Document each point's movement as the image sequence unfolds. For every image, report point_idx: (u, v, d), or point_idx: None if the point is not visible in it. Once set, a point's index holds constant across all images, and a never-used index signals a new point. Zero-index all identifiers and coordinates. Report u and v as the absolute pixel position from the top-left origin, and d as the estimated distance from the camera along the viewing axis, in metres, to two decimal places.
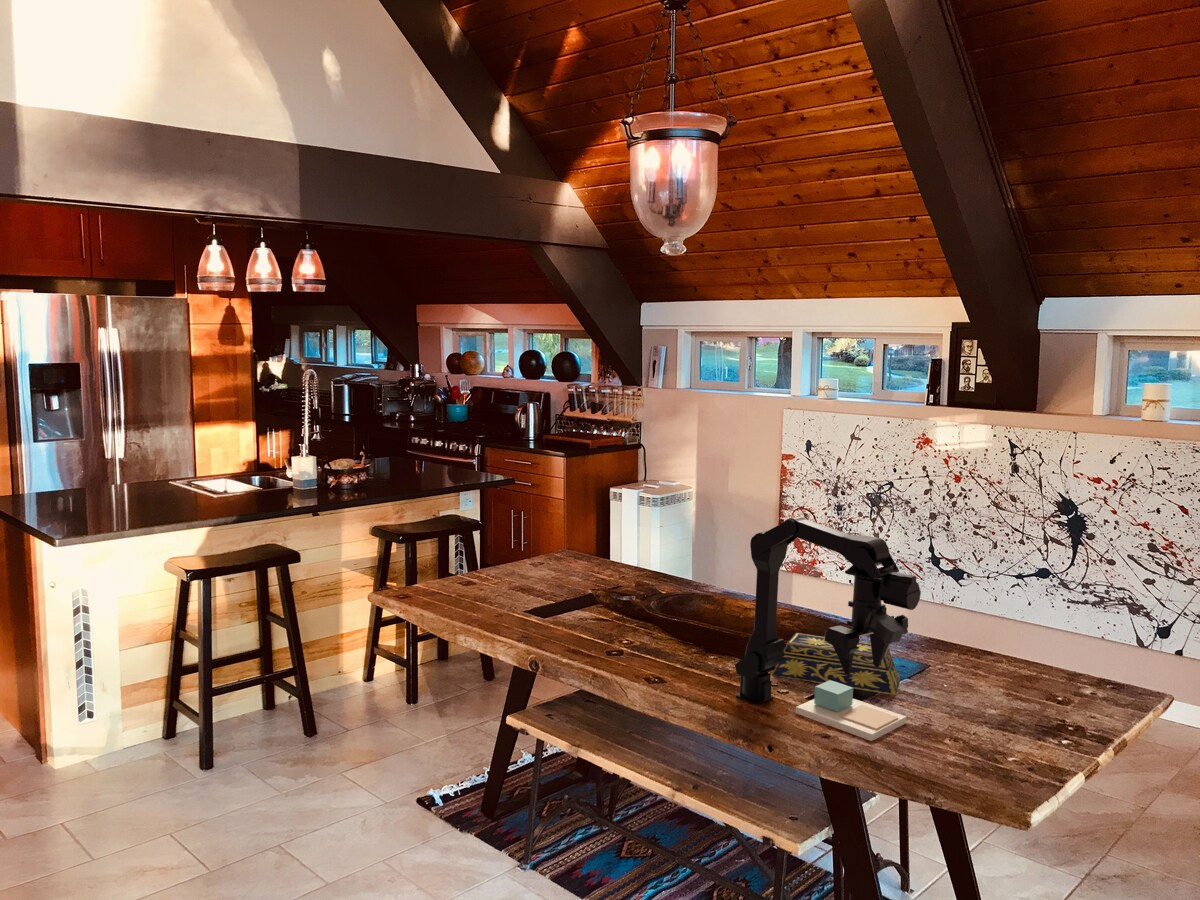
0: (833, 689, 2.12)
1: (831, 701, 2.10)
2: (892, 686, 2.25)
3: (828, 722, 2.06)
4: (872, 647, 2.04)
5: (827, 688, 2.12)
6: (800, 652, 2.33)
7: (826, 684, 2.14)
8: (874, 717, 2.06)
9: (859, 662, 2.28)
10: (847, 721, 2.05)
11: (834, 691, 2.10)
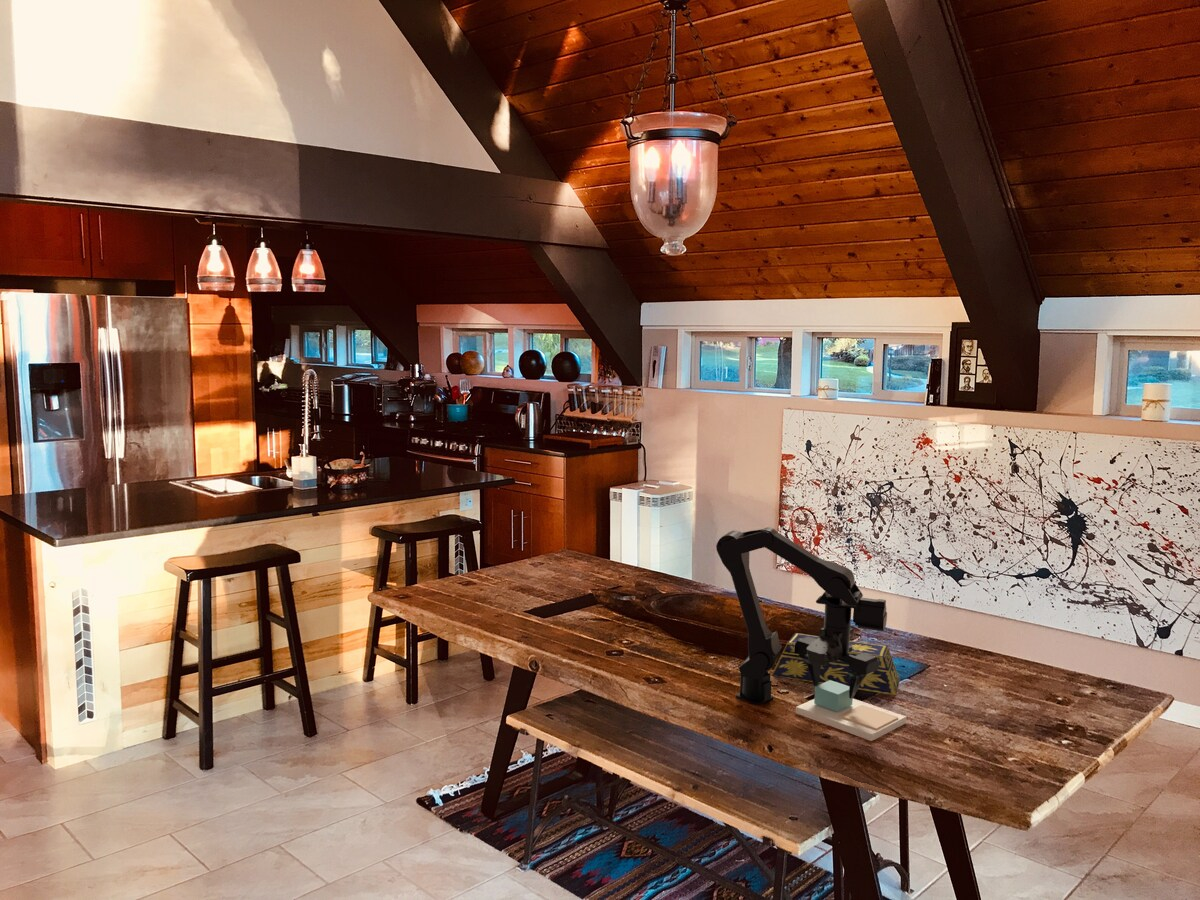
0: (833, 689, 2.12)
1: (831, 701, 2.10)
2: (892, 686, 2.25)
3: (828, 722, 2.06)
4: None
5: (827, 688, 2.12)
6: None
7: (826, 684, 2.14)
8: (874, 717, 2.06)
9: None
10: (847, 721, 2.05)
11: (834, 691, 2.10)
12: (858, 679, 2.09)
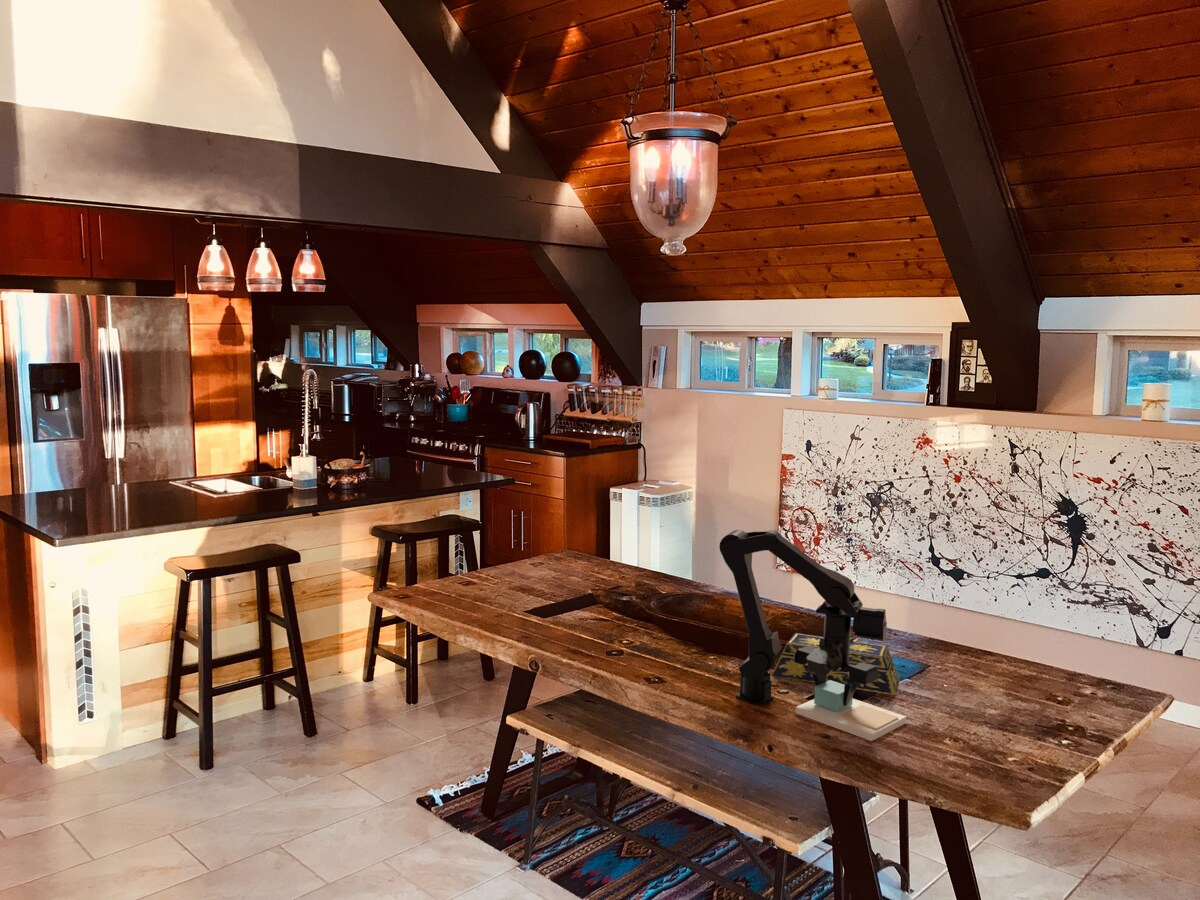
0: (833, 689, 2.12)
1: (831, 701, 2.10)
2: (892, 686, 2.25)
3: (828, 722, 2.06)
4: None
5: (827, 688, 2.12)
6: None
7: (826, 684, 2.14)
8: (874, 717, 2.06)
9: (859, 663, 2.28)
10: (847, 721, 2.05)
11: (834, 691, 2.10)
12: (852, 687, 2.10)
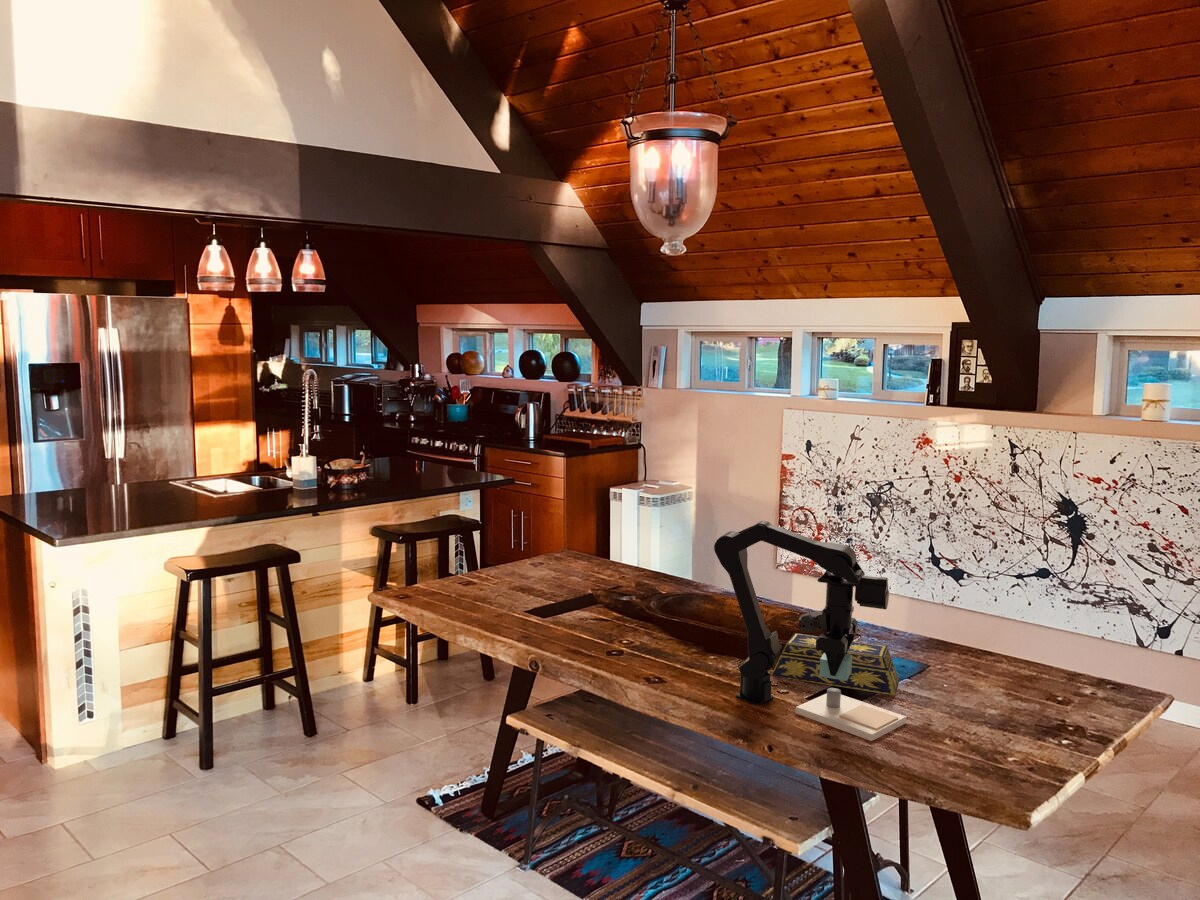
0: None
1: None
2: (892, 686, 2.25)
3: (828, 722, 2.06)
4: None
5: None
6: (800, 653, 2.33)
7: None
8: (874, 717, 2.06)
9: (858, 663, 2.28)
10: (847, 721, 2.05)
11: (825, 657, 2.12)
12: (835, 657, 2.08)
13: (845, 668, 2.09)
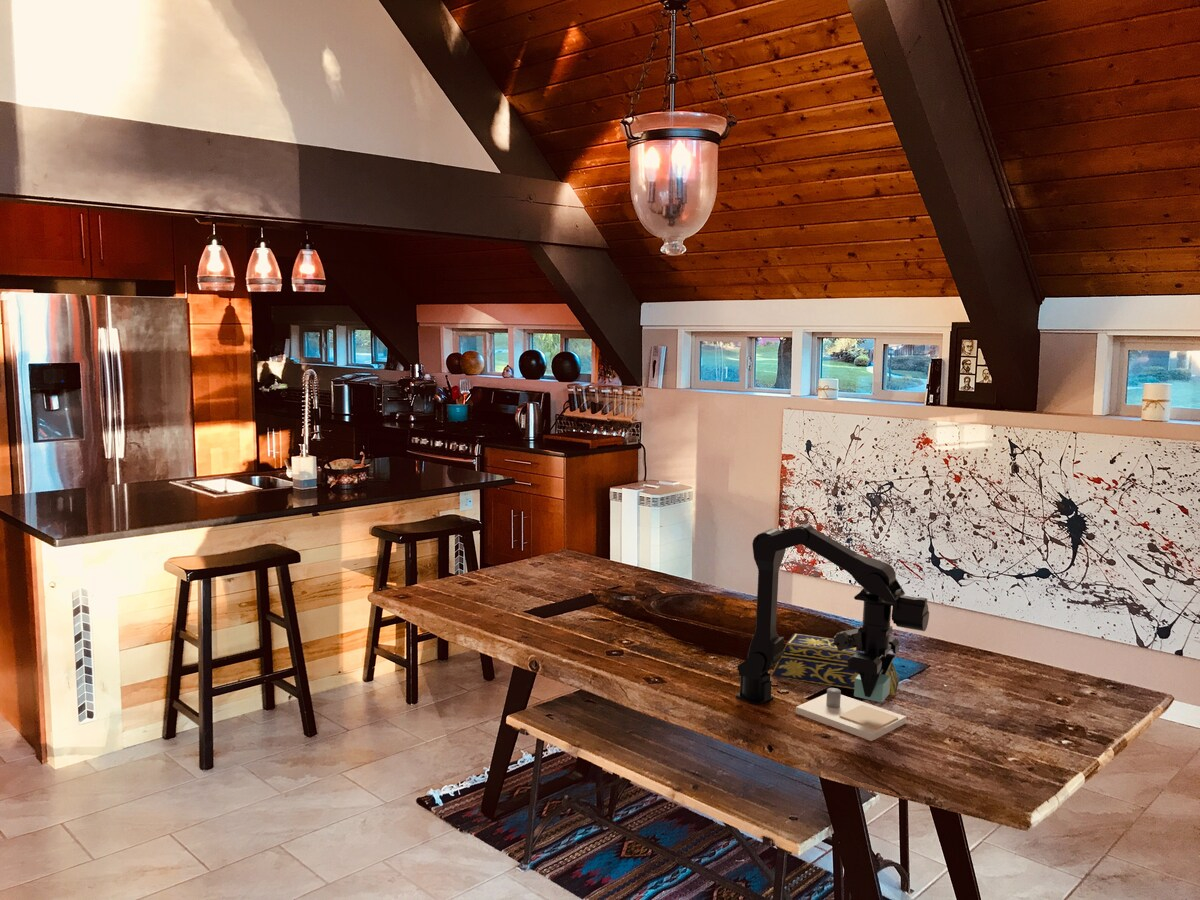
0: None
1: None
2: (891, 686, 2.25)
3: (828, 722, 2.06)
4: None
5: None
6: (800, 653, 2.33)
7: None
8: (874, 717, 2.06)
9: None
10: (847, 721, 2.05)
11: (860, 677, 2.05)
12: (869, 678, 2.02)
13: (880, 689, 2.02)
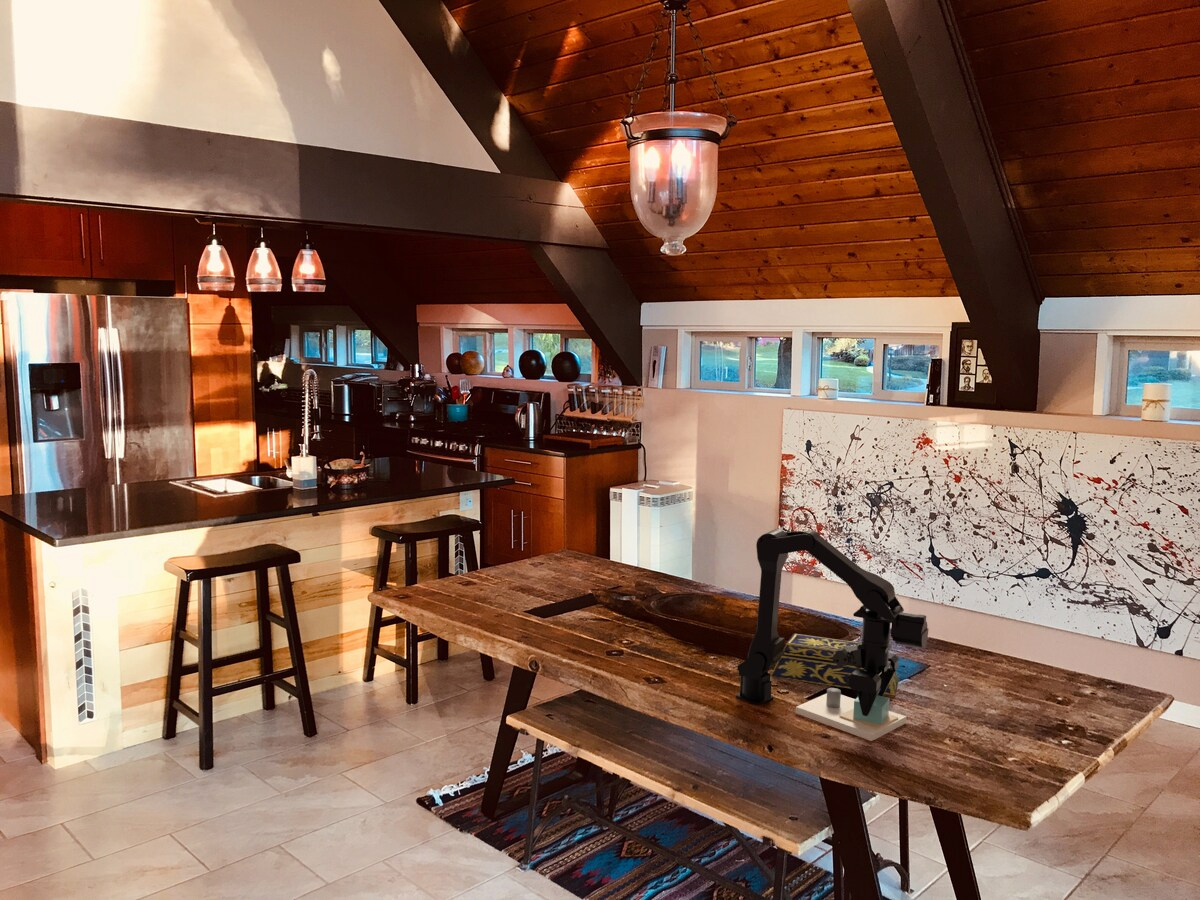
0: None
1: None
2: (891, 686, 2.25)
3: (828, 722, 2.06)
4: None
5: None
6: (799, 653, 2.33)
7: None
8: None
9: None
10: (847, 721, 2.05)
11: None
12: (867, 697, 2.01)
13: (879, 712, 2.02)
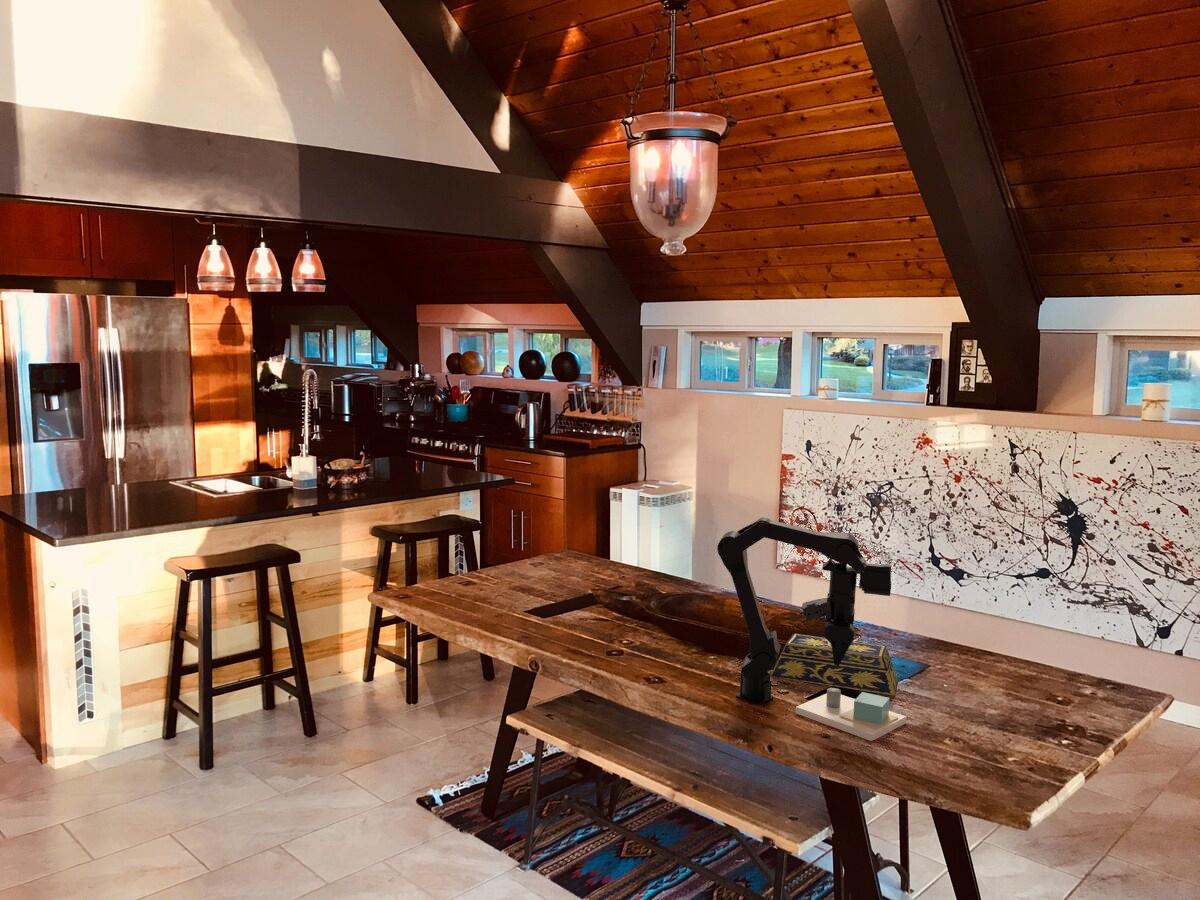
0: (864, 699, 2.06)
1: None
2: (891, 686, 2.25)
3: (828, 722, 2.06)
4: None
5: (863, 696, 2.08)
6: (799, 653, 2.32)
7: (873, 696, 2.08)
8: None
9: (858, 663, 2.27)
10: (847, 721, 2.05)
11: (859, 699, 2.06)
12: (840, 647, 2.09)
13: (879, 712, 2.02)
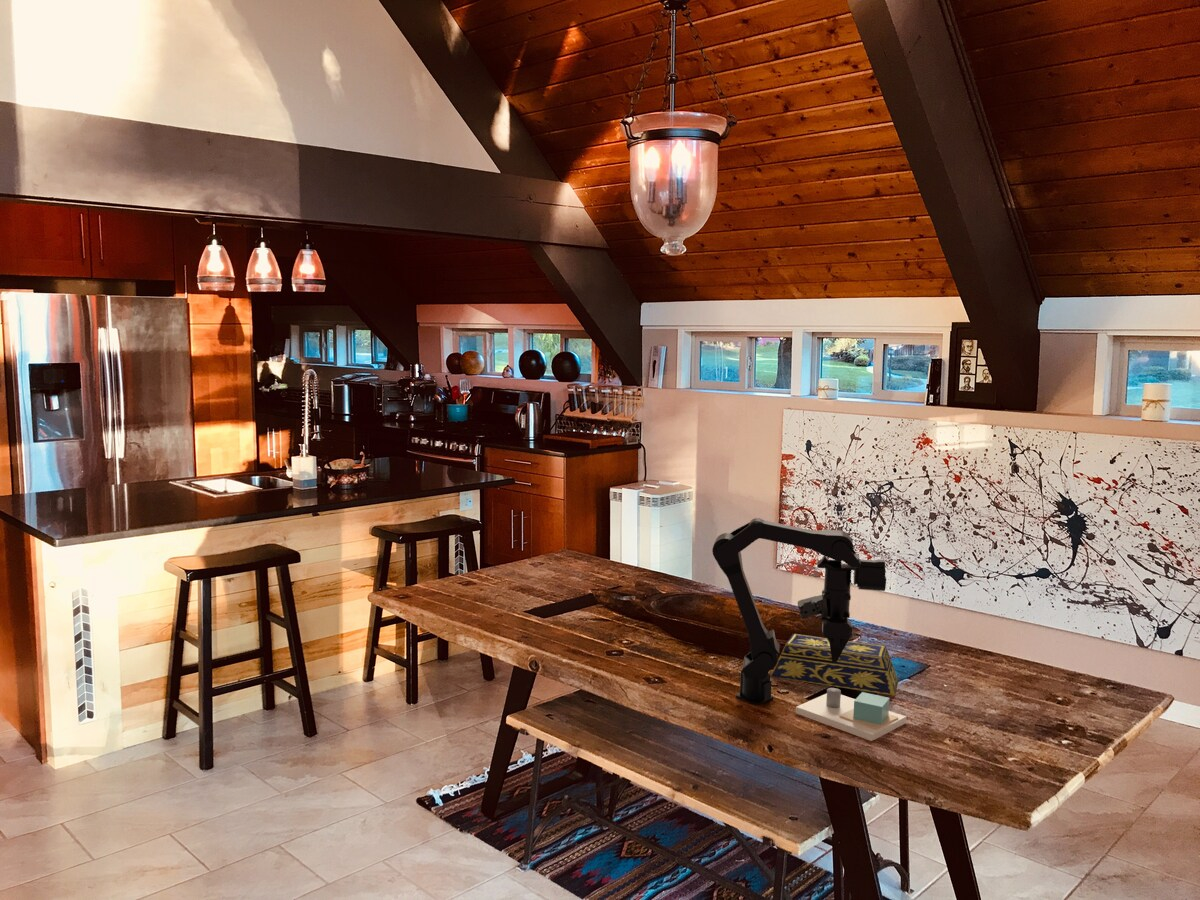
0: (864, 699, 2.06)
1: None
2: (891, 686, 2.25)
3: (828, 722, 2.06)
4: None
5: (863, 696, 2.08)
6: (799, 653, 2.32)
7: (873, 696, 2.08)
8: None
9: (858, 663, 2.27)
10: (847, 721, 2.05)
11: (859, 699, 2.06)
12: (838, 643, 2.10)
13: (879, 712, 2.02)
